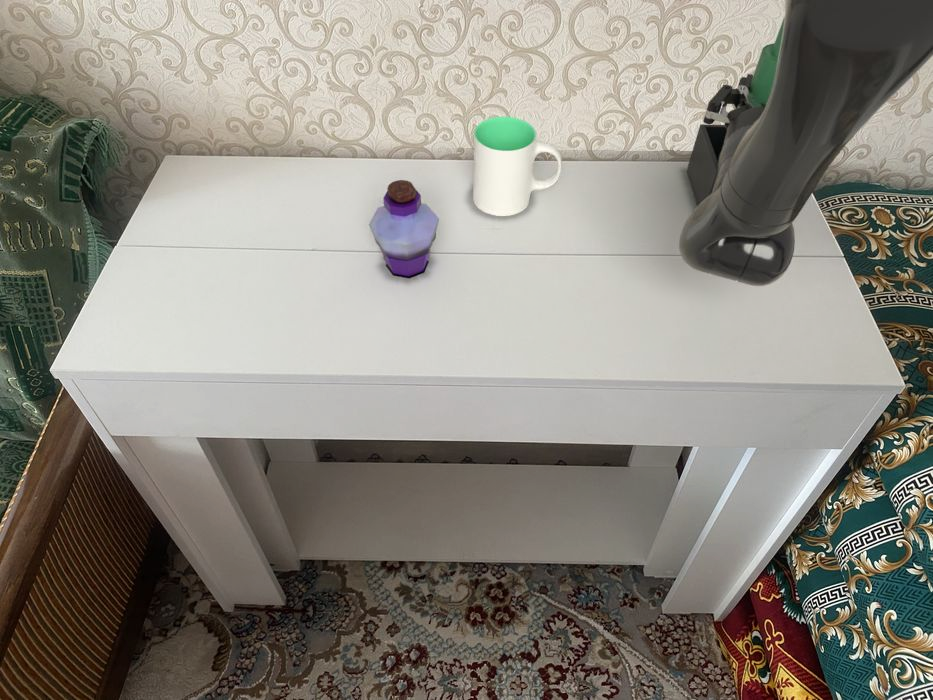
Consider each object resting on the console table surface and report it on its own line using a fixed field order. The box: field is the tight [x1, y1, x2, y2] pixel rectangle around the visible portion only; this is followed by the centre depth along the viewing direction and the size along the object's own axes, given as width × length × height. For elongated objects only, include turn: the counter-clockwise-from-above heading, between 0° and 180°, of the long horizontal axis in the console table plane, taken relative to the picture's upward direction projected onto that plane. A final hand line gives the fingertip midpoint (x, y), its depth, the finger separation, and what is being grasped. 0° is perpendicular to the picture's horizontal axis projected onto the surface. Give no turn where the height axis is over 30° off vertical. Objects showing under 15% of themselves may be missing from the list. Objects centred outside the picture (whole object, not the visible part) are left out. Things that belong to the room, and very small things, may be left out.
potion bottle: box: [368, 179, 440, 280], centre depth 84 cm, size 9×9×12 cm
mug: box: [472, 116, 563, 217], centre depth 94 cm, size 12×8×10 cm, turn 91°
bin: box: [686, 123, 727, 207], centre depth 95 cm, size 11×11×8 cm
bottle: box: [749, 15, 785, 105], centre depth 87 cm, size 5×5×23 cm
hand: (770, 85), depth 88 cm, fingers closed on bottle, 5 cm apart
